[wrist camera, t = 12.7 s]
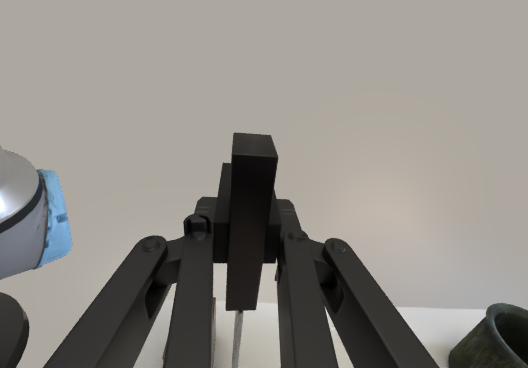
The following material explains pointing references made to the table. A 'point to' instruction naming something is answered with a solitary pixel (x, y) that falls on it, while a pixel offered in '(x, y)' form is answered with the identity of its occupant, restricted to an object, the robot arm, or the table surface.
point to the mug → (495, 340)
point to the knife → (248, 223)
